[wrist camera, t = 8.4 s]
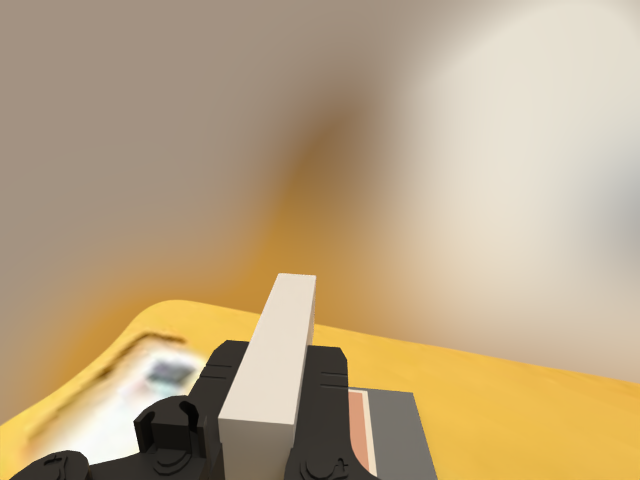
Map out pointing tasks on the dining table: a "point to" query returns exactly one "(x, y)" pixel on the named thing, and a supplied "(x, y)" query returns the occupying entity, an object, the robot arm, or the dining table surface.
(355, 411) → the tile
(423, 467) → the mat
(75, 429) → the dining table surface
